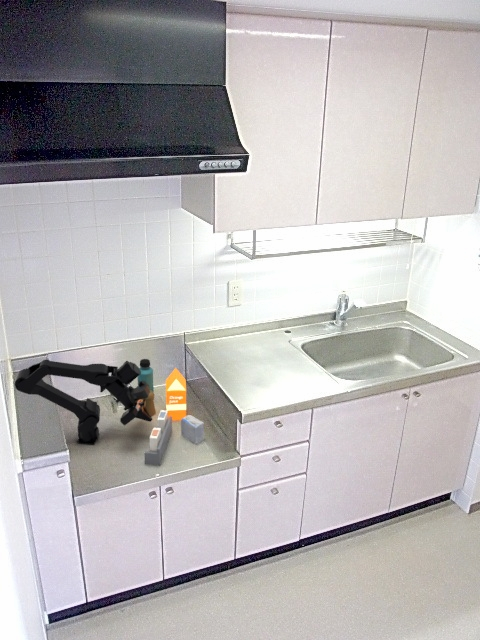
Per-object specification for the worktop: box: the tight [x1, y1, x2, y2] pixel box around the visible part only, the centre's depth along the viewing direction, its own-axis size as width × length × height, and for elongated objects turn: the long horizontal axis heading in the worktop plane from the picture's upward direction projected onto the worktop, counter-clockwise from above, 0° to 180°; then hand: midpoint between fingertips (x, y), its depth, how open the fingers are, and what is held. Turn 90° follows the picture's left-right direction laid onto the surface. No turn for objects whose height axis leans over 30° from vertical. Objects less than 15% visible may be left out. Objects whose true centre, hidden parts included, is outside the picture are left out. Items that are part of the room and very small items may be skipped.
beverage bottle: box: [136, 358, 155, 401], centre depth 222 cm, size 6×7×20 cm
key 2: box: [156, 409, 168, 433], centre depth 201 cm, size 2×6×10 cm, turn 175°
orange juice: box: [165, 367, 187, 422], centre depth 214 cm, size 8×9×20 cm
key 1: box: [149, 427, 161, 452], centre depth 191 cm, size 2×6×10 cm, turn 175°
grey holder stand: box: [143, 416, 173, 466], centre depth 197 cm, size 7×20×8 cm, turn 175°
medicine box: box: [180, 414, 205, 445], centre depth 203 cm, size 8×4×9 cm, turn 48°
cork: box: [142, 390, 156, 417], centre depth 216 cm, size 6×6×11 cm
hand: (151, 420), depth 200 cm, fingers closed
